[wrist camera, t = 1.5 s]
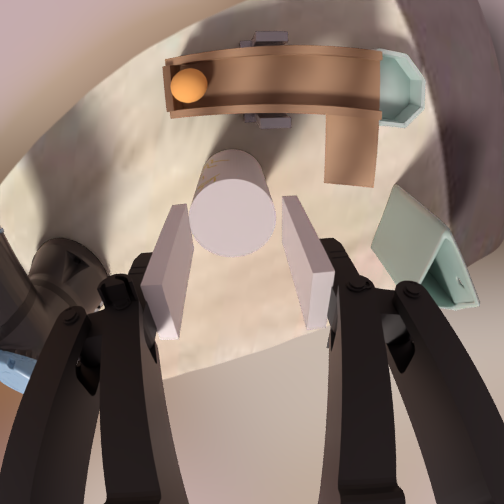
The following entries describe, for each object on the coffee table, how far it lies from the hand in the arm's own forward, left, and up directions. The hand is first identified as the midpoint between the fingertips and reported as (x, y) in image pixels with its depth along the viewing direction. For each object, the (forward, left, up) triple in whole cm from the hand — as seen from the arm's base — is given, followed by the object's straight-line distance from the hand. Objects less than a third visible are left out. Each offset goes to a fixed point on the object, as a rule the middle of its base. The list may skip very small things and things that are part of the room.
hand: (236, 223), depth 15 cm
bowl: (+20, +8, -23) cm, 31 cm away
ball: (-4, +8, -15) cm, 17 cm away
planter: (+24, -15, -23) cm, 37 cm away
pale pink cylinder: (0, -5, -23) cm, 24 cm away
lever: (+4, +4, -15) cm, 16 cm away
